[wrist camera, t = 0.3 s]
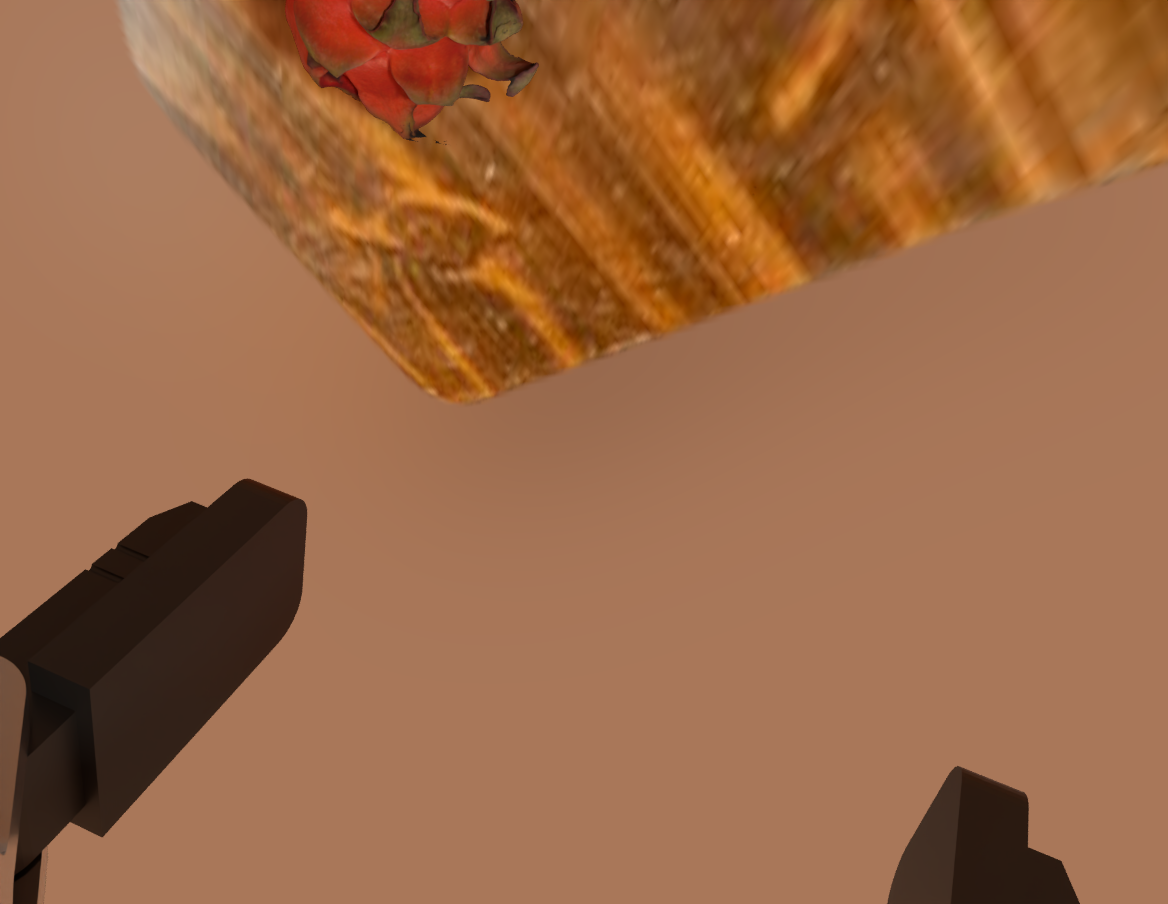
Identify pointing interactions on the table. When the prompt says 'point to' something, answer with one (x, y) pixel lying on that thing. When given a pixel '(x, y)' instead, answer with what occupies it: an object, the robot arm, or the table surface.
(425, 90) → the dragon fruit
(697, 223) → the table surface
